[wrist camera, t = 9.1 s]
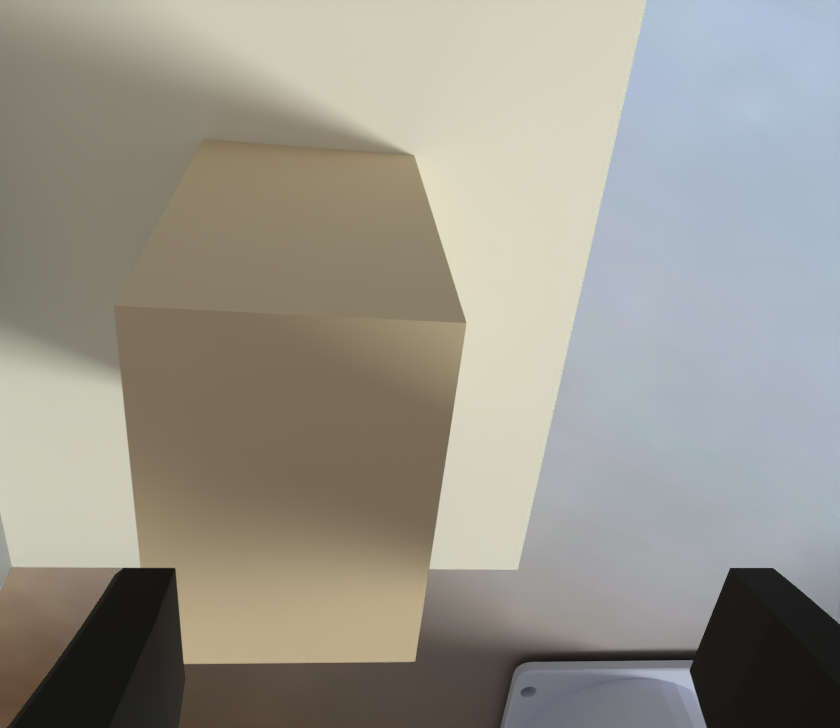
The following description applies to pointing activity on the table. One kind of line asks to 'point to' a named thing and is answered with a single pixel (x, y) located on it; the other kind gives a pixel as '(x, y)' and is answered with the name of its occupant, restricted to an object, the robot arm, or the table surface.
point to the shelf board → (306, 127)
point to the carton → (291, 401)
